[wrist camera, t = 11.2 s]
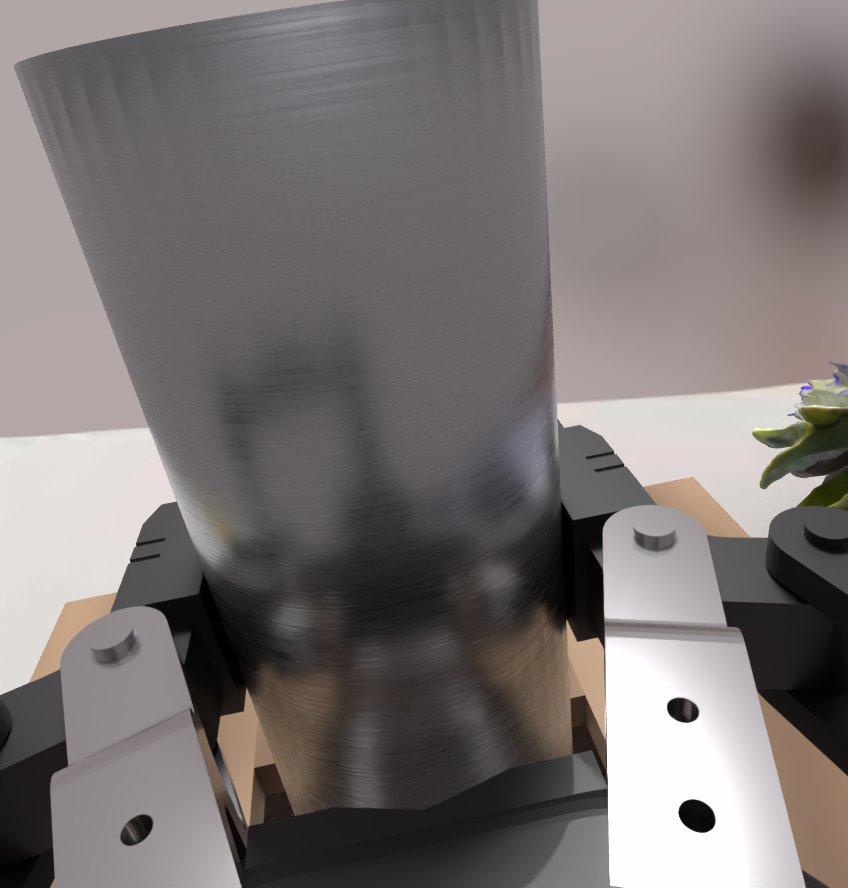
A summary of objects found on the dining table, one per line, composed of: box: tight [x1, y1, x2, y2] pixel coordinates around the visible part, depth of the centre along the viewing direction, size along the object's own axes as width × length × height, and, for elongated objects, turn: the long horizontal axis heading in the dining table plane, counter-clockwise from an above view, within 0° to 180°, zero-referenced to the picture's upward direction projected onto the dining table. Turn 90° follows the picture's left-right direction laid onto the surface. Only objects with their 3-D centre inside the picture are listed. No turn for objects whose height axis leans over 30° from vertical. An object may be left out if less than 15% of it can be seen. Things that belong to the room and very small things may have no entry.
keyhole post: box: [14, 0, 573, 816], centre depth 11 cm, size 6×6×17 cm
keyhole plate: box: [29, 477, 848, 888], centre depth 16 cm, size 20×16×4 cm
